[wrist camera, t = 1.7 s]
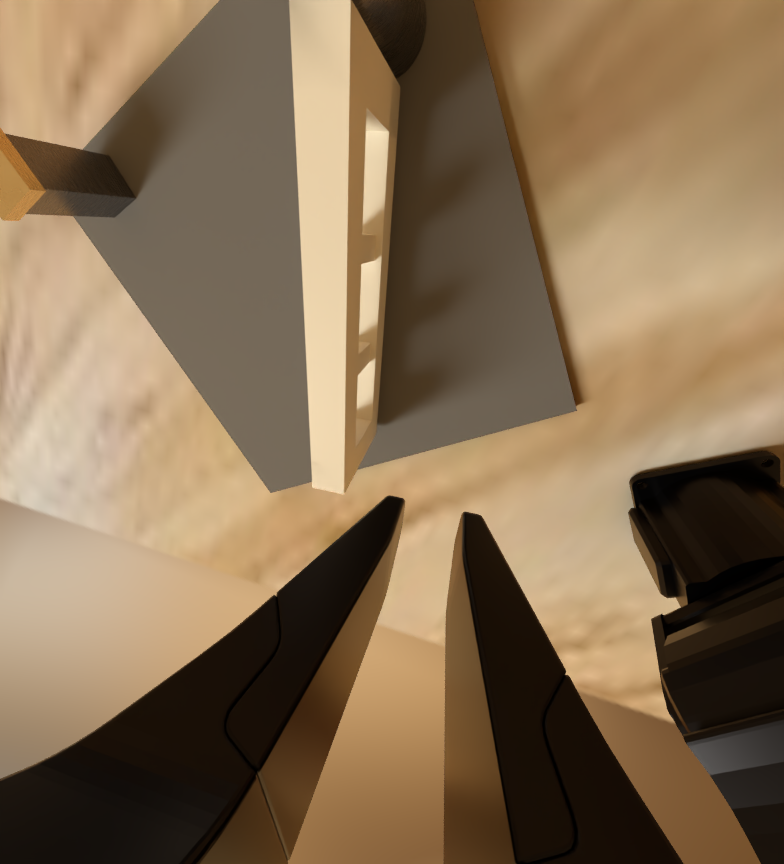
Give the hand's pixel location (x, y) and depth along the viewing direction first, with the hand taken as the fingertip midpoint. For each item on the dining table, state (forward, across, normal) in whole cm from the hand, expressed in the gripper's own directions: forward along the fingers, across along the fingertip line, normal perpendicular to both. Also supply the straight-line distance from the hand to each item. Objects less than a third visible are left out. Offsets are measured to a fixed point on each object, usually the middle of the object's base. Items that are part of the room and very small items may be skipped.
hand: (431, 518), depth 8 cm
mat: (+13, +8, -2) cm, 16 cm away
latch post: (+13, +19, -6) cm, 24 cm away
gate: (+12, +5, -2) cm, 13 cm away
